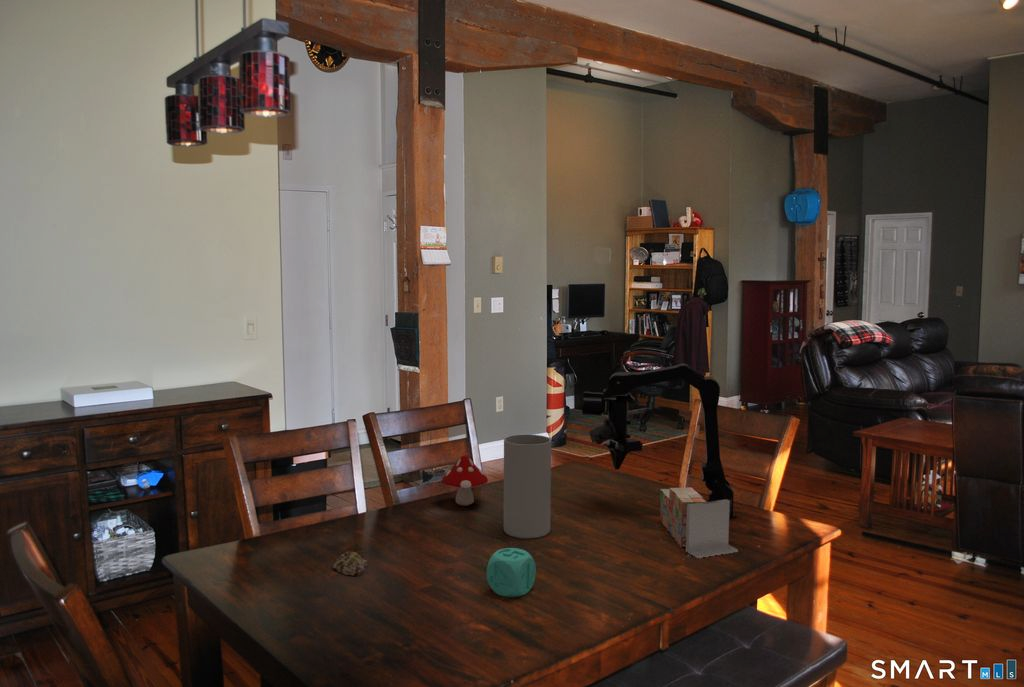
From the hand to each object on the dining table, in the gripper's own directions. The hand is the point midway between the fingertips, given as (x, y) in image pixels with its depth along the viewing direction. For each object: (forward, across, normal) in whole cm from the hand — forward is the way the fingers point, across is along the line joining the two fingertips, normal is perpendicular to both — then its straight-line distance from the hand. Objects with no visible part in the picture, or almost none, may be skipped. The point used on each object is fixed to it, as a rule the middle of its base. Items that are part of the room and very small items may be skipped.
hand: (616, 469), depth 223 cm
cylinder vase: (+12, +8, -32) cm, 35 cm away
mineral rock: (+13, +16, -80) cm, 83 cm away
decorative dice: (+12, +41, -50) cm, 66 cm away
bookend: (+12, +38, +5) cm, 41 cm away
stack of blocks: (+12, +24, +6) cm, 28 cm away
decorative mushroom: (+12, -20, -40) cm, 46 cm away
